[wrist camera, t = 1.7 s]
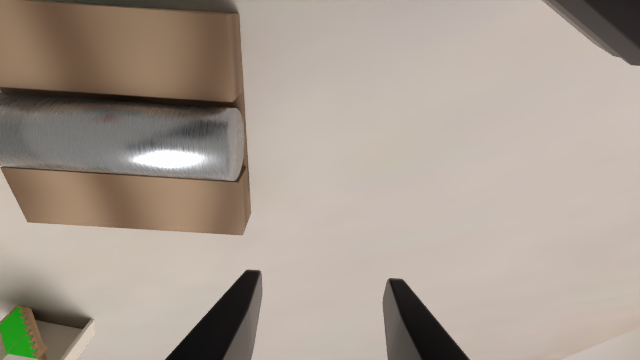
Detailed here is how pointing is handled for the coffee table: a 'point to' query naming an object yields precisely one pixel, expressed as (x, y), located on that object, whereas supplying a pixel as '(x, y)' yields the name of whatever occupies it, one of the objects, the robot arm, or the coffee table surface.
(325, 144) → the coffee table surface
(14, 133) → the axle
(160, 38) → the wooden channel block
